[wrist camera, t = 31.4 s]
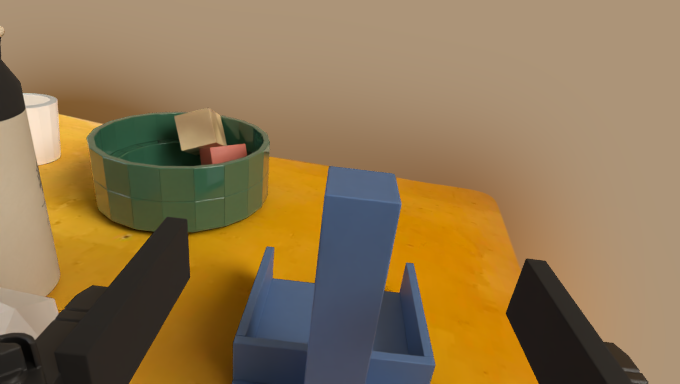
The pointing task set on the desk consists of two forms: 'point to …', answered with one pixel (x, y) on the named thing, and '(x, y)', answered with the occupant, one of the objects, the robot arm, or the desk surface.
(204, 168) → the green pet bowl
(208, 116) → the maple block
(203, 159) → the brick block
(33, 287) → the travel mug
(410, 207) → the desk surface
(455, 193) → the desk surface
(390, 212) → the scoop
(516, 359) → the desk surface
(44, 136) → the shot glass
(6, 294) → the die
